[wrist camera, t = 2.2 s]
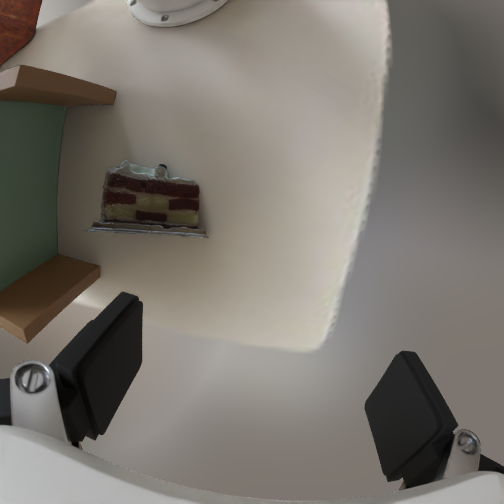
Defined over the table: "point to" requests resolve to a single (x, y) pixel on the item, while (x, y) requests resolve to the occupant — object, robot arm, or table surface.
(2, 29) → the handbag
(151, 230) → the chocolate cake
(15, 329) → the cubby shelf
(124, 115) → the table surface
